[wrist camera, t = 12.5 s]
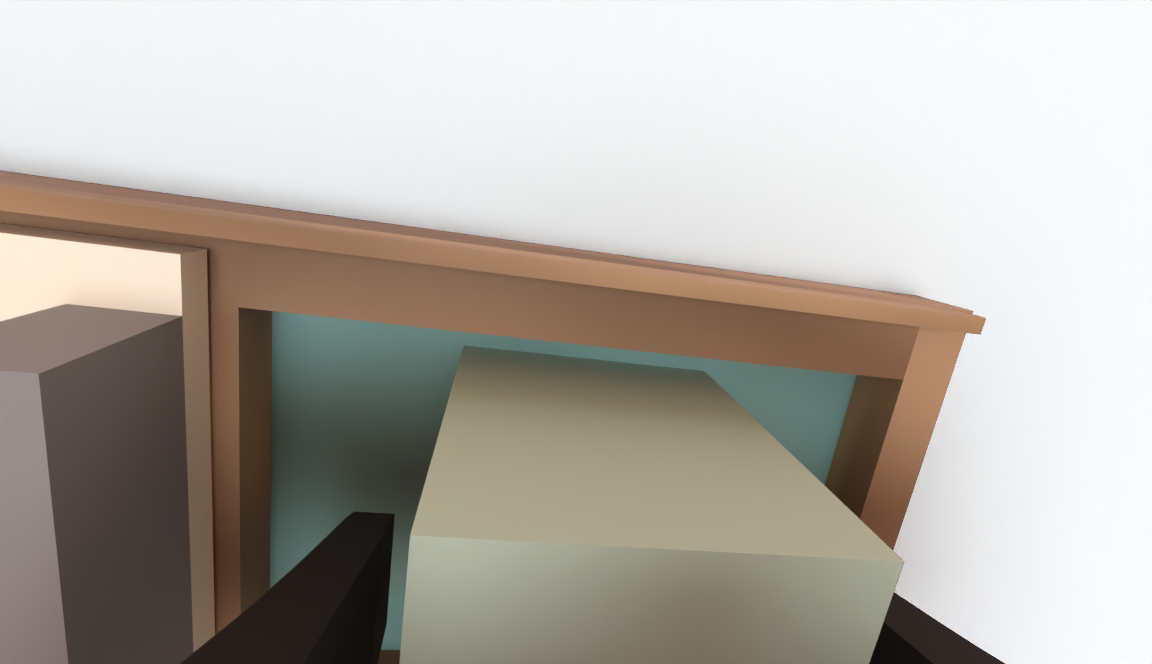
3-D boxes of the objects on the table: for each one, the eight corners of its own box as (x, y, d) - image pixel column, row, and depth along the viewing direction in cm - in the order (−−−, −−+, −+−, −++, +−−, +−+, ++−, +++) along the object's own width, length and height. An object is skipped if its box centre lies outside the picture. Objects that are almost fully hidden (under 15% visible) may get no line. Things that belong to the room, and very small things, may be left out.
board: (792, 697, 14) (844, 790, 12) (-512, 686, 10) (-791, 824, 8) (916, 295, 12) (1010, 321, 10) (-782, 64, 8) (-1309, 15, 5)
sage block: (660, 572, 13) (787, 899, 7) (441, 562, 12) (377, 921, 6) (704, 370, 11) (904, 561, 6) (464, 345, 11) (410, 535, 5)
